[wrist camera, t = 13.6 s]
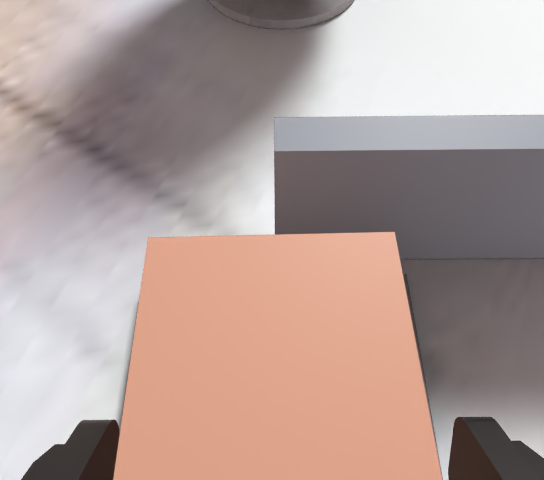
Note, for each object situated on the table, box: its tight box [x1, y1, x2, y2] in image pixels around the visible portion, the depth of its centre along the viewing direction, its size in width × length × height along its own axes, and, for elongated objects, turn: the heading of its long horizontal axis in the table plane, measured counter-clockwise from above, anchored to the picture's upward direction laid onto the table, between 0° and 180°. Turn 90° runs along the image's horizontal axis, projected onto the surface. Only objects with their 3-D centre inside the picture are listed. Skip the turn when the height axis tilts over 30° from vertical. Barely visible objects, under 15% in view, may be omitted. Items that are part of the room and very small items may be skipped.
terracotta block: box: [113, 232, 442, 480], centre depth 11 cm, size 5×5×10 cm
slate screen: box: [274, 115, 544, 259], centre depth 17 cm, size 17×2×8 cm, turn 90°
